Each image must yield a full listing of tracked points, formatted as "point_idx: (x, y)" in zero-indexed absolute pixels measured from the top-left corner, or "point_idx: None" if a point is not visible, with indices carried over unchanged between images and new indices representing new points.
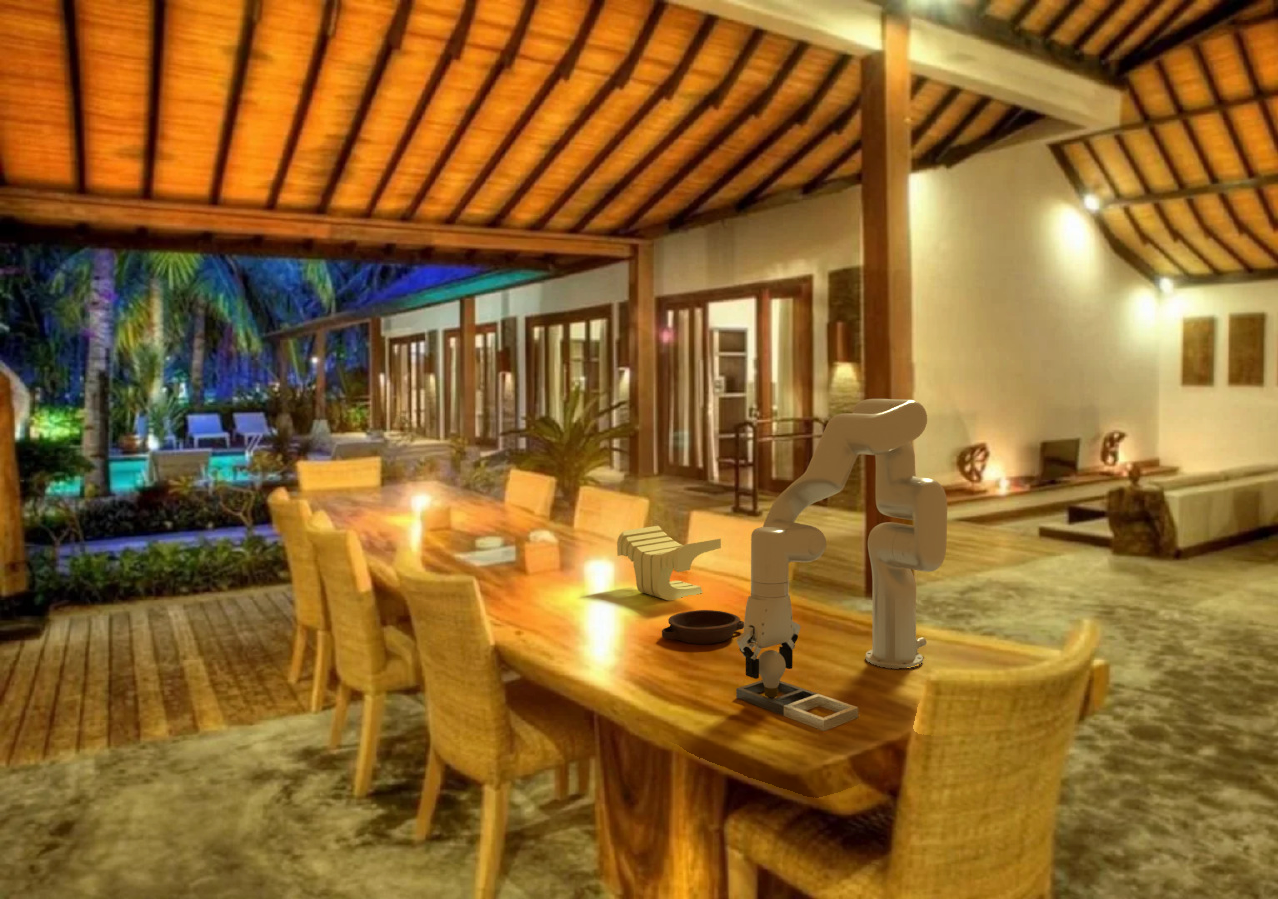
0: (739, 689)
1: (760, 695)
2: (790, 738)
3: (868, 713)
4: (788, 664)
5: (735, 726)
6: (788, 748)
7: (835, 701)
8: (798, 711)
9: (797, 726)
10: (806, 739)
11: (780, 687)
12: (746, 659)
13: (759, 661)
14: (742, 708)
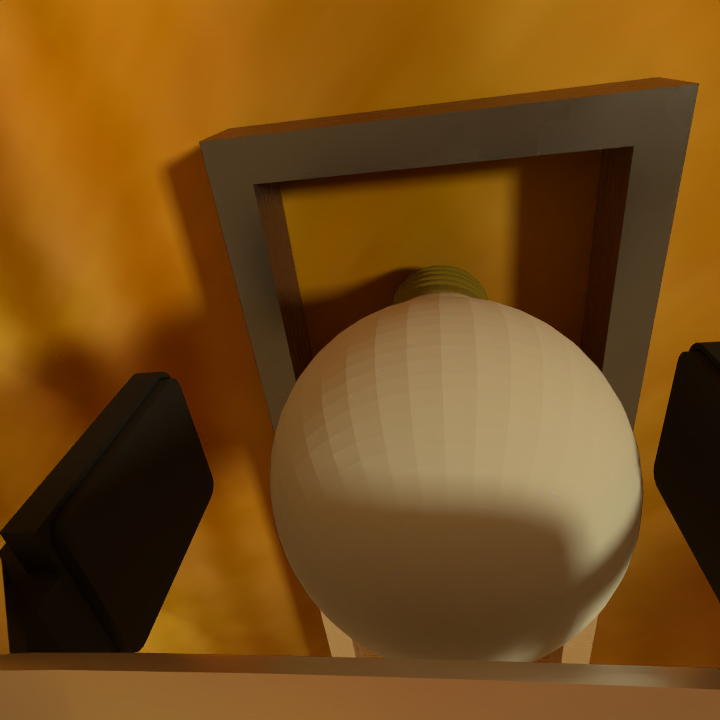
0: (211, 182)
1: (286, 374)
2: (200, 621)
3: (647, 662)
4: (674, 497)
5: (38, 452)
6: (150, 650)
7: (571, 640)
8: (320, 611)
9: (292, 584)
10: (246, 649)
11: (603, 262)
12: (3, 559)
13: (272, 494)
14: (174, 308)
